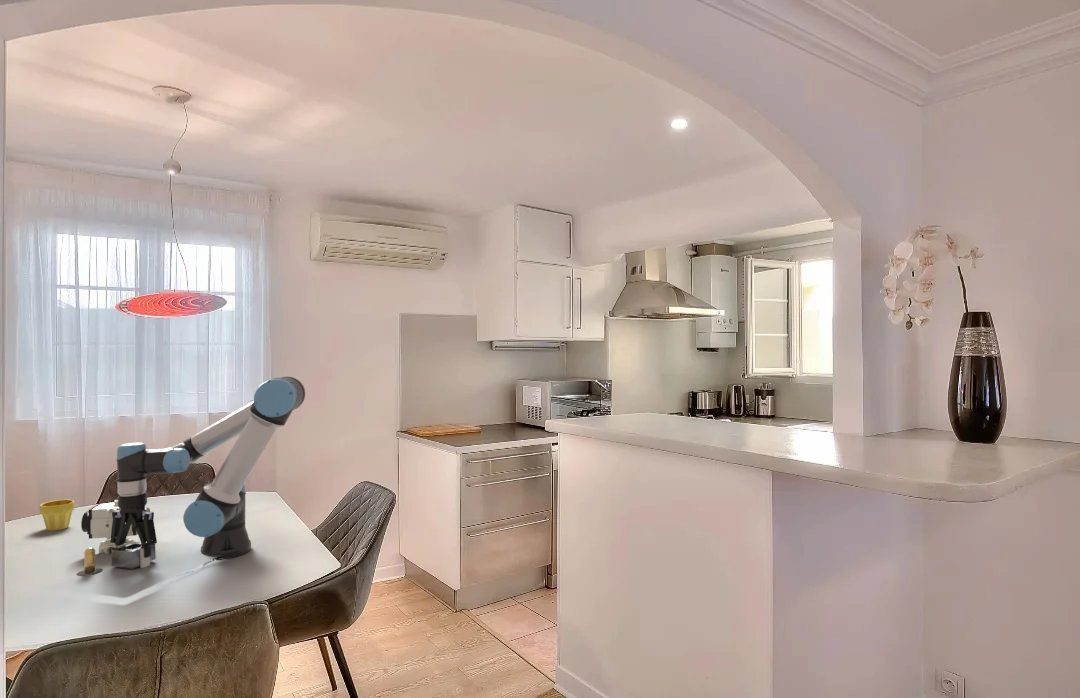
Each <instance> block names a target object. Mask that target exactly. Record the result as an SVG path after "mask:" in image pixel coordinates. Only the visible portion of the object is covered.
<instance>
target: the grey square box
mask: <svg viewBox="0 0 1080 698" xmlns="http://www.w3.org/2000/svg"><path fill="white" fill-rule="evenodd" d="M140 547H142V544H141V541H134V542H132V543H130V544H127V545H124V546H121V547H118V548H113V549H111V550H112V551H111V566H112V567H114V568H116V567H125V568H134V569H135V567H136V568H138V567H137V566H139V567H140ZM156 556H157V555H156V544H153V545H152V546H151V556H150V562H152V561H154V560H156Z"/></svg>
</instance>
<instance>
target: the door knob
mask: <svg viewBox="0 0 1080 698" xmlns="http://www.w3.org/2000/svg"><path fill="white" fill-rule="evenodd" d="M83 556H84V557H83V558H84V565H83V566H84V569H83V570H80V571H78V572H77V573H76V576H78V577H87V576H88V577H89V576H93V575H94V576H95V575H96V574H99V573H102V572H103V571H104V569H103V568H101V567H96V549H95V548H94V547H87V548H86V549H85V550H84V555H83Z"/></svg>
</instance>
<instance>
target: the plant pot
mask: <svg viewBox="0 0 1080 698" xmlns="http://www.w3.org/2000/svg"><path fill="white" fill-rule="evenodd" d="M74 510H75V500H73V499H56V500H51V501H47V502H43V503H41V504H39V514H40V515H41V516H42V518H43V522H44V525H45V529H46V531H49V532H50V531H51V532H52V531H53V532H54V531H55V532H56V531H60V530H65V529H67V528H69V527H70V522H71V518H72V514H73V511H74Z"/></svg>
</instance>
